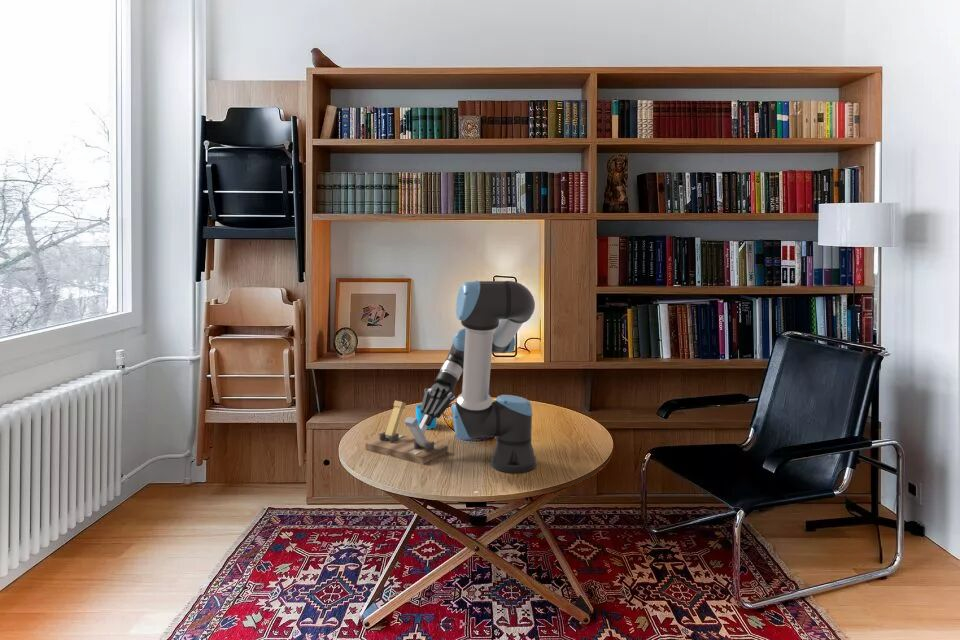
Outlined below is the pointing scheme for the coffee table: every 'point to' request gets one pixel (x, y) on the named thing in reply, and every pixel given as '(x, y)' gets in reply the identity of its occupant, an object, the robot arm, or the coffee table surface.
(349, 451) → the coffee table surface
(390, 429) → the ochre lever
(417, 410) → the mug
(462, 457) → the coffee table surface
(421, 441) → the grey lever
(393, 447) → the console
